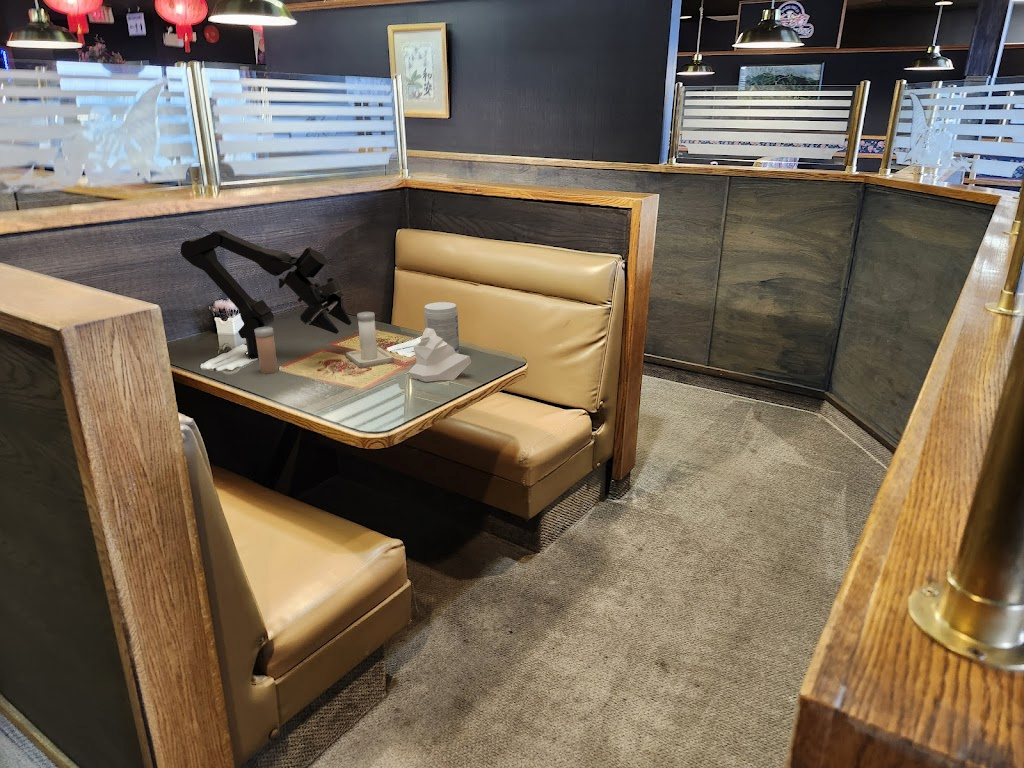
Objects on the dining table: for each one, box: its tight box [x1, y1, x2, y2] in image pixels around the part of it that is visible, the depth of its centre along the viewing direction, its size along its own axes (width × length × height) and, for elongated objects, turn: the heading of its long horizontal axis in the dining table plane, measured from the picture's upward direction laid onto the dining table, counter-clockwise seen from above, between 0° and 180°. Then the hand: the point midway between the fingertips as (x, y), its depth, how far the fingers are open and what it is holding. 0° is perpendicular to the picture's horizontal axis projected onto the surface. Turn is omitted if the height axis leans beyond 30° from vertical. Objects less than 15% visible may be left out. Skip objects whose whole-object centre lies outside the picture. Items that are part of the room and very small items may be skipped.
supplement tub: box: [423, 301, 460, 354], centre depth 209 cm, size 10×10×15 cm
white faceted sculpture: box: [407, 328, 472, 383], centre depth 191 cm, size 12×15×14 cm
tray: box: [345, 346, 395, 369], centre depth 207 cm, size 12×10×2 cm
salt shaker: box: [356, 311, 378, 360], centre depth 205 cm, size 5×5×13 cm
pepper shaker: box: [254, 326, 279, 375], centre depth 197 cm, size 5×5×12 cm
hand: (344, 328), depth 206 cm, fingers open, 9 cm apart
